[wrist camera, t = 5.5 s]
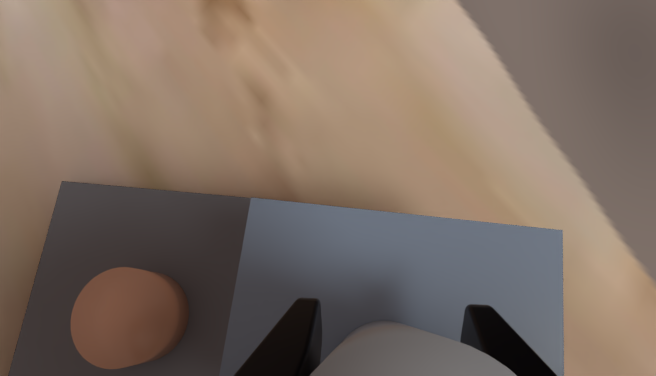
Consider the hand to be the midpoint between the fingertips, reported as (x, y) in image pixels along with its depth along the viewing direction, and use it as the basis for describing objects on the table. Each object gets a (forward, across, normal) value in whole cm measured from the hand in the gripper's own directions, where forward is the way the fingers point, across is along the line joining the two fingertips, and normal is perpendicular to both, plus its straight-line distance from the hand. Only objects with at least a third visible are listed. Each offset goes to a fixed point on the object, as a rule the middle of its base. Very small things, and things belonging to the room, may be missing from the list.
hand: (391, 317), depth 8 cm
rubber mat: (+8, +11, +9) cm, 16 cm away
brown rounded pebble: (+8, +11, +9) cm, 16 cm away
